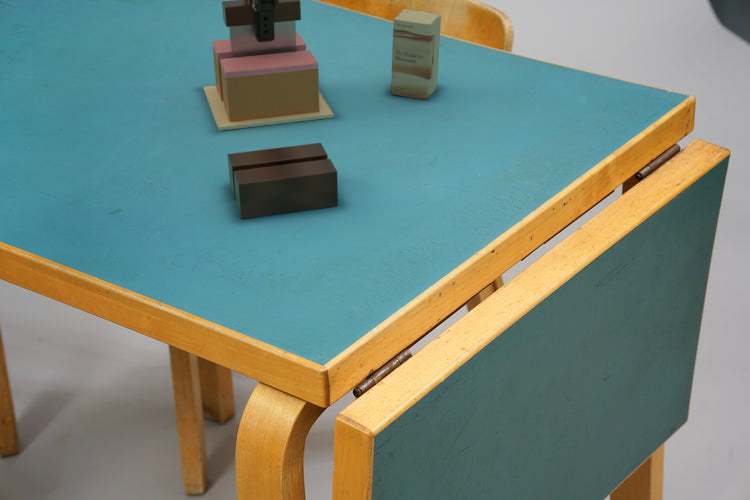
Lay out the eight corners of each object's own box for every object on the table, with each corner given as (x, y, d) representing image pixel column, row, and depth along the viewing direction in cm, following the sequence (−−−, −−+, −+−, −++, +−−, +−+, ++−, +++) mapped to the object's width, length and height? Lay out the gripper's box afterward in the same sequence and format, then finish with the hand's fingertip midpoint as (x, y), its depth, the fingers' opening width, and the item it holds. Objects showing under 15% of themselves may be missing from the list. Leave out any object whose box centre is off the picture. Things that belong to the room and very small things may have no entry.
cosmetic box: (389, 95, 125) (390, 18, 120) (400, 83, 129) (402, 7, 124) (428, 100, 124) (431, 23, 119) (438, 88, 127) (441, 12, 122)
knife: (232, 98, 120) (224, 7, 114) (229, 91, 122) (221, 1, 116) (304, 90, 122) (300, 0, 116) (299, 83, 124) (296, -6, 118)
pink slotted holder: (218, 131, 116) (214, 76, 112) (203, 89, 127) (198, 39, 123) (333, 117, 119) (332, 64, 116) (309, 78, 130) (307, 29, 126)
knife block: (241, 219, 98) (238, 184, 96) (230, 187, 104) (227, 153, 102) (338, 206, 101) (337, 171, 99) (321, 175, 106) (320, 142, 104)
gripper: (211, -124, 114) (223, 21, 123) (230, -98, 103) (242, 60, 112) (274, -127, 116) (281, 15, 125) (300, -102, 105) (306, 53, 114)
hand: (262, 36), depth 119 cm, fingers closed on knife, 2 cm apart
